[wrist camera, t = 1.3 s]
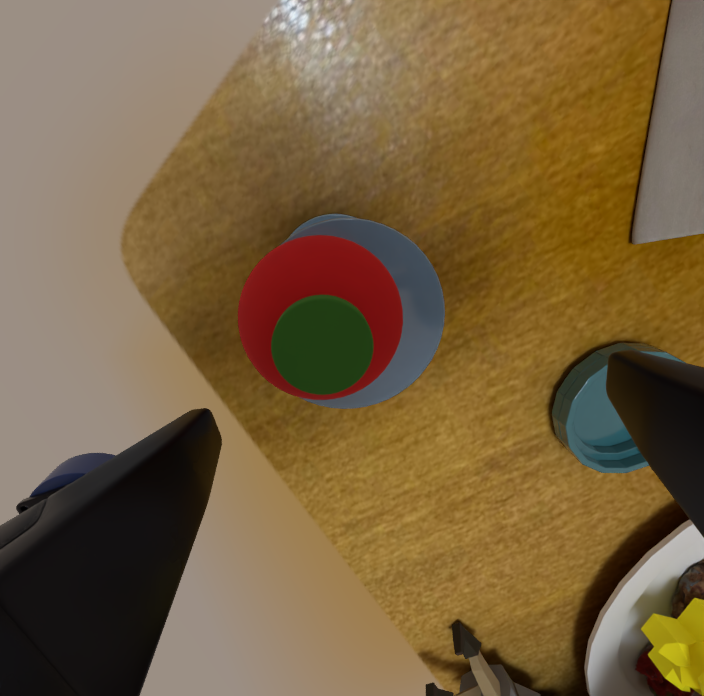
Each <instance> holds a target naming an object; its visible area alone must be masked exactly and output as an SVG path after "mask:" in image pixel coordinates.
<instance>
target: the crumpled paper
mask: <svg viewBox="0 0 704 696" xmlns="http://www.w3.org/2000/svg"><path fill="white" fill-rule="evenodd" d="M641 630H642V631H643V633H644V634H645V635H646V637H647V638H648V639H649V641H650V642H651V643H652V644H653V646H654V647H653V649H652V650H651V651H650V652H649V654H648V656H649V657H650V659H651V660H652V661H653V663H654V664H655V666H656V667H657V668H658V670H659V671H660V672H661V674H662V675H663V676H664V678H665V679H667V680H668V681H669V682H671V683H672V684H673V685H675V686H676V687H677V688H679V689H680V690H682V691H687V692H690V688H692V689H693V690H695V691H696V692H698V693H699V694H701V695H702V696H704V600H702V599H698V598H694V599H693V600H692V601H691V603H690V604H689V605H688V606H687V607H686V609H685V610H684V611H683V612H682V614H681V615H680V616H679V617H678V618H677V619H675V618H671V617H667V616H663V615H659V614H655V613H653V614H652V615H651V617H650V618H649V619H648V620H647V622H646V623H645V624H644V625H643V627H642V628H641Z"/></svg>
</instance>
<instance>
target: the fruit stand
mask: <svg viewBox="0 0 704 696" xmlns="http://www.w3.org/2000/svg"><path fill="white" fill-rule="evenodd" d="M313 235H327V236H335V237H340V238H343V239H346V240H349V241H352V242H354V243H356V244H358V245H360V246H362V247H364V248H365V249H367V250H368V251H370V252H371V253H372V254H373V255H374V256H376V257H377V258H378V259H379V260H380V261H381V262H382V264H383V265H384V266H385V267H386V268H387V270H388V272H389V273H390V275H391V276H392V278H393V280H394V282H395V284H396V286H397V288H398V291H399V294H400V298H401V303H402V309H403V326H402V334H401V338H400V342H399V345H398V347H397V350H396V352H395V354H394V356H393V358H392V360H391V361H390V363H389V364H388V366H387V367H386V369H385V370H384V371H383V372H382V373H381V374H380V376H379V377H378V378H377V379H375V380H374V381H373V382H372V383H371V384H369V385H368V386H366V387H365V388H363V389H361V390H359V391H357V392H355V393H353V394H350V395H348V396H345V397H341V398H336V399H329V400H312V399H305V398H302V399H304V400H306V401H308V402H311V403H314V404H317V405H320V406H325V407H330V408H341V409H347V408H360V407H366V406H370V405H373V404H377V403H380V402H382V401H385V400H387V399H389V398H391V397H393V396H395V395H397V394H398V393H400V392H401V391H403V390H404V389H406V388H407V387H408V386H410V385H411V384H412V383H413V382H414V381H415V380H416V379H417V378H418V377H419V376H420V375H421V374H422V372H423V371H424V370H425V369H426V367H427V366H428V364H429V363H430V361H431V360H432V358H433V356H434V354H435V352H436V350H437V348H438V345H439V342H440V339H441V336H442V331H443V327H444V317H445V307H444V297H443V292H442V287H441V284H440V281H439V278H438V276H437V274H436V272H435V270H434V268H433V266H432V264H431V263H430V261H429V260H428V258H427V257H426V255H425V254H424V253H423V252H422V251H421V250H420V248H419V247H418V246H417V245H416V244H415V243H413V242H412V241H411V240H410V239H409V238H407V237H406V236H405V235H403V234H401V233H400V232H398V231H397V230H395V229H393V228H391V227H388V226H386V225H384V224H381V223H378V222H374V221H371V220H366V219H358V218H356V217H353V216H349V215H345V214H324V215H320V216H317V217H314V218H312V219H309V220H308V221H306V222H304V223H303V224H301V225H300V226H299V227H298V228H296V229H295V231H294V232H293V233H292V234H291V235H290V236H289V238H288V239H286V240H285V241H284V242H283V243H281V244H280V245H282V244H284V243H286V242H288V241H291V240H294V239H296V238H301V237H305V236H313ZM280 245H279V246H280ZM300 398H301V397H300Z"/></svg>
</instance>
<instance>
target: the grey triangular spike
mask: <svg viewBox="0 0 704 696" xmlns="http://www.w3.org/2000/svg"><path fill="white" fill-rule="evenodd" d="M702 233H704V0H672V4H671V10H670V15H669V21H668V26H667V32H666V37H665V43H664V49H663V54H662V60H661V65H660V71H659V77H658V82H657V88H656V94H655V99H654V105H653V111H652V116H651V122H650V128H649V133H648V139H647V145H646V150H645V156H644V162H643V168H642V174H641V179H640V185H639V191H638V197H637V203H636V209H635V216H634V222H633V230H632V244H639V243H646V242H652V241H658V240H665V239H671V238H677V237H683V236H690V235H696V234H702Z"/></svg>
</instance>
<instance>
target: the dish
mask: <svg viewBox="0 0 704 696" xmlns="http://www.w3.org/2000/svg"><path fill="white" fill-rule="evenodd" d="M627 350H635V351H639V352H643V353H647V354H651V355H655V356H659V357H663V358H667V359H671V360H675V361H679V362H683V361H682V360H680V359H678V358H676V357H674V356H672V355H671V354H669V353H667V352H664V351H662V350H660V349H657V348H655V347H652V346H650V345H647V344H639V343H618V344H615V345H612V346H609V347H606V348H603V349H600V350H597V351H595V352H594V353H592V354H591V355H590V356H588V357H587V358H586V359H584V360H583V361H582V362H580V363H579V364H578V365H577V366H575V367H574V368H573V369H572V370H571V371H570V373H569V374H568V376H567V377H566V379H565V380H564V382H563V383H562V384H561V386H560V387H559V389H558V391H557V394H556V398H555V402H554V406H553V410H552V418H553V423H554V429H555V434H556V436H557V437H558V439H559V440H560V441H561V442H562V444H563V445H564V446H565V447H566V449H567V450H568V451H569V452H570V453H571V454H572V455H573V456H574V457H575V458H576V459H577V460H578V461H579V462H581V463H582V464H583V465H585V466H588V467H590V468H592V469H594V470H597V471H599V472H601V473H628V472H631V471H634V470H637V469H640V468H643V467H646V466H649V464H648V463H647V461H646V460H645V458H644V457H643V456H642V454H641V452H640V451H639V449H638V448H637V446H636V444H635V443H634V441H633V439H632V438H631V436H630V434H629V432H628V431H627V429H626V427H625V426H624V424H623V422H622V420H621V419H620V417H619V415H618V413H617V412H616V410H615V408H614V407H613V405H612V403H611V401H610V400H609V398H608V396H607V392H606V378H607V366H608V359H609V356H610V355H611V354H612V353H614V352H620V351H627ZM683 363H685V362H683Z"/></svg>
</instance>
